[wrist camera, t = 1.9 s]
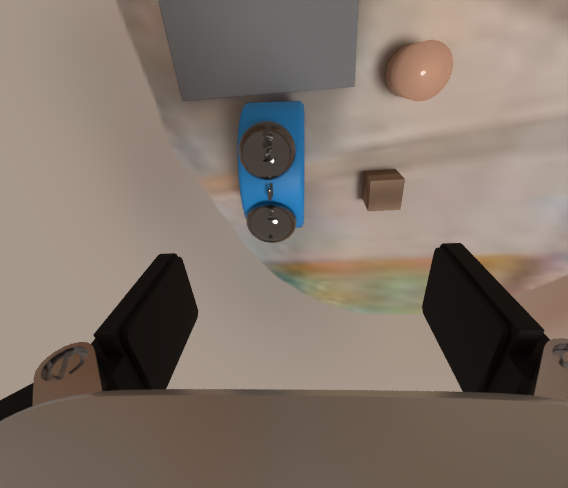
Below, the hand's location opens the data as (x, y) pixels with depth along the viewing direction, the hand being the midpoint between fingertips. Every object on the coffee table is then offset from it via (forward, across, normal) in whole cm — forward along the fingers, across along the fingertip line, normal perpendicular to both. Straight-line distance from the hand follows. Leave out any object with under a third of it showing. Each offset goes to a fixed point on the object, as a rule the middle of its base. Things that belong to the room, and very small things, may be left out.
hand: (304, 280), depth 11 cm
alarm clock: (+29, +3, +2) cm, 30 cm away
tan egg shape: (+29, -12, -6) cm, 32 cm away
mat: (+29, +4, -13) cm, 32 cm away
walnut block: (+29, -10, +7) cm, 32 cm away
